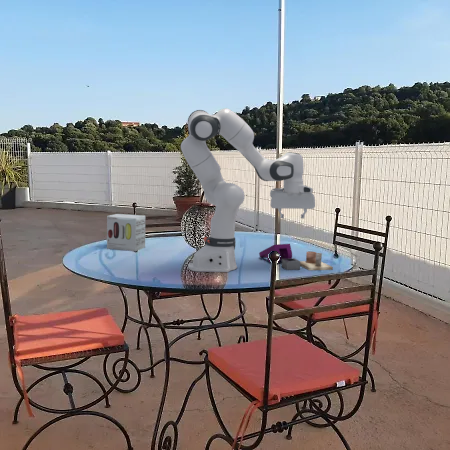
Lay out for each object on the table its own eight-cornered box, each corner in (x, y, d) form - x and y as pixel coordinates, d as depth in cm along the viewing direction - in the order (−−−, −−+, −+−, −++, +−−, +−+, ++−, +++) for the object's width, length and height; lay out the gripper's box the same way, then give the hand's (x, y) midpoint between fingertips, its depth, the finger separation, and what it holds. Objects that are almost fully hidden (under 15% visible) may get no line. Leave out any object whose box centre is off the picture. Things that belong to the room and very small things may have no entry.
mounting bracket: (259, 270, 233) (277, 261, 218) (255, 254, 236) (273, 244, 220) (274, 268, 238) (293, 260, 222) (271, 253, 240) (289, 243, 225)
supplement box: (106, 249, 246) (105, 215, 243) (117, 245, 258) (117, 213, 256) (135, 251, 242) (135, 217, 239) (145, 247, 254) (146, 215, 252)
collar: (286, 270, 209) (287, 261, 208) (281, 266, 215) (281, 258, 215) (299, 269, 211) (300, 261, 210) (294, 266, 217) (294, 258, 216)
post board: (308, 270, 210) (309, 254, 209) (296, 263, 223) (297, 249, 222) (332, 269, 213) (333, 254, 212) (319, 263, 226) (320, 248, 225)
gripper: (270, 188, 206) (270, 218, 208) (316, 188, 205) (315, 219, 207) (269, 187, 212) (269, 217, 214) (314, 188, 212) (313, 217, 214)
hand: (292, 218), depth 211 cm, fingers open, 8 cm apart
